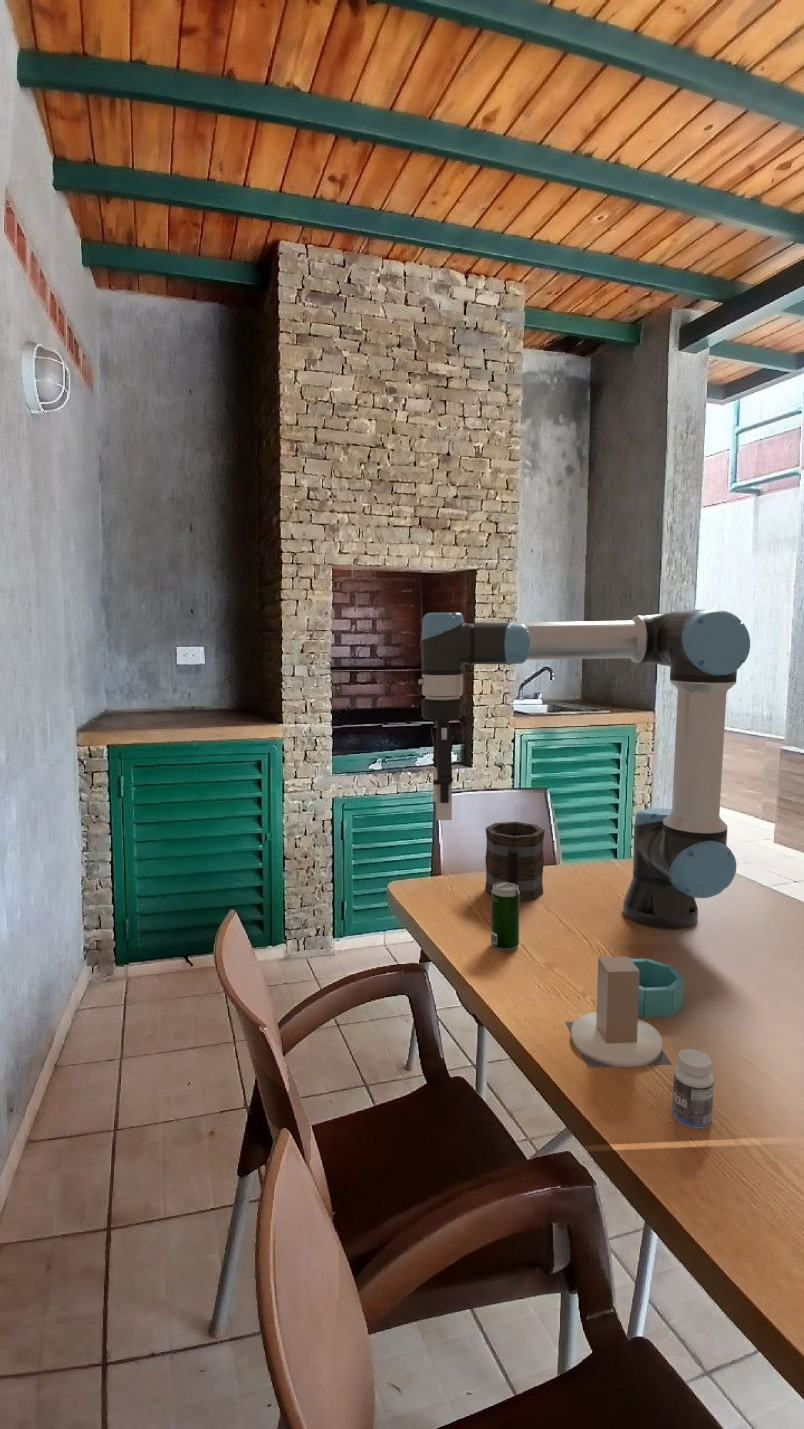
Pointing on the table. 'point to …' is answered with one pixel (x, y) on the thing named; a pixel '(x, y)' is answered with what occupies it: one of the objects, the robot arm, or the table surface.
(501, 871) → the mug
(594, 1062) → the mat
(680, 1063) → the pill bottle
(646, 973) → the bowl
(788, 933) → the table surface
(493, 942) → the beer can
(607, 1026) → the lid
